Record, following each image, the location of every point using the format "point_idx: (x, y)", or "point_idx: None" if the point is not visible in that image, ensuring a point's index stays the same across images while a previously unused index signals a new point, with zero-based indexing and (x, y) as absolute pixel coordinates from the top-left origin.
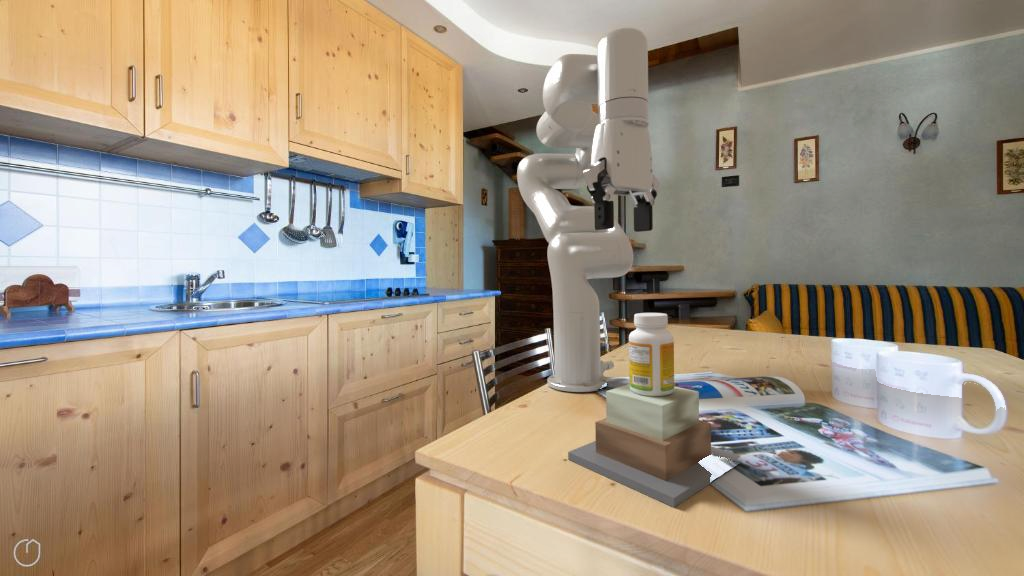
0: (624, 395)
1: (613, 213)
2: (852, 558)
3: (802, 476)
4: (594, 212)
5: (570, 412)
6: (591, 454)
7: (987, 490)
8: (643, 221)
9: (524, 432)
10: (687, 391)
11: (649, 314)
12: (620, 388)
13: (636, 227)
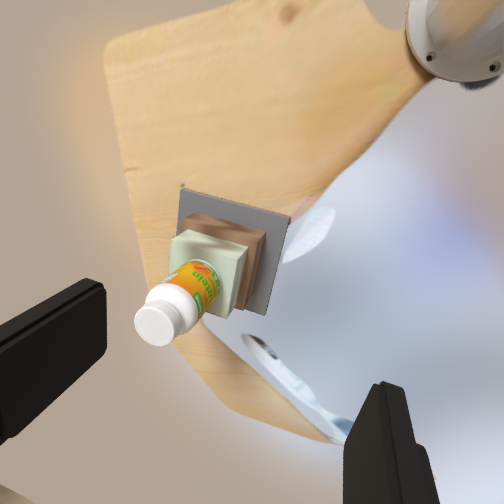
0: (170, 261)
1: (56, 394)
2: (190, 357)
3: (270, 347)
4: (16, 316)
5: (303, 107)
6: (189, 210)
7: (314, 432)
8: (354, 466)
9: (206, 102)
10: (220, 309)
11: (151, 326)
12: (189, 248)
13: (369, 406)
